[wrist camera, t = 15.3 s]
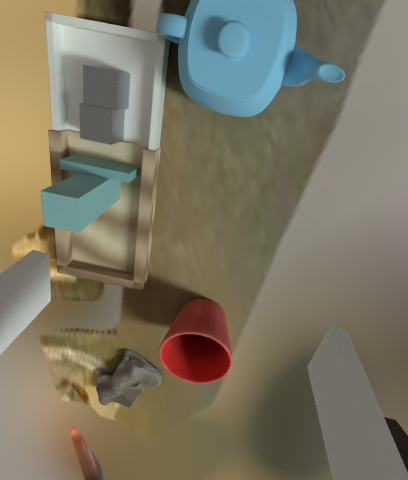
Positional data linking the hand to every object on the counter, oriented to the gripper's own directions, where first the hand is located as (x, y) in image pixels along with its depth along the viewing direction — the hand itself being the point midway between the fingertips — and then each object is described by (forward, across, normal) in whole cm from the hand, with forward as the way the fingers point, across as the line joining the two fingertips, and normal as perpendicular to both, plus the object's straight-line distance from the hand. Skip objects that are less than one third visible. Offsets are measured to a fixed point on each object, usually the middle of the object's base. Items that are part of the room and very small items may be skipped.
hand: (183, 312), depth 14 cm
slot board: (+29, -15, -11) cm, 35 cm away
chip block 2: (+29, -16, +2) cm, 34 cm away
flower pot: (+30, +3, -26) cm, 40 cm away
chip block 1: (+29, -16, +6) cm, 34 cm away
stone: (+30, -8, -46) cm, 56 cm away
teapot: (+30, -1, +13) cm, 33 cm away
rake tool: (+29, -16, -6) cm, 33 cm away
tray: (+30, -16, +6) cm, 34 cm away
